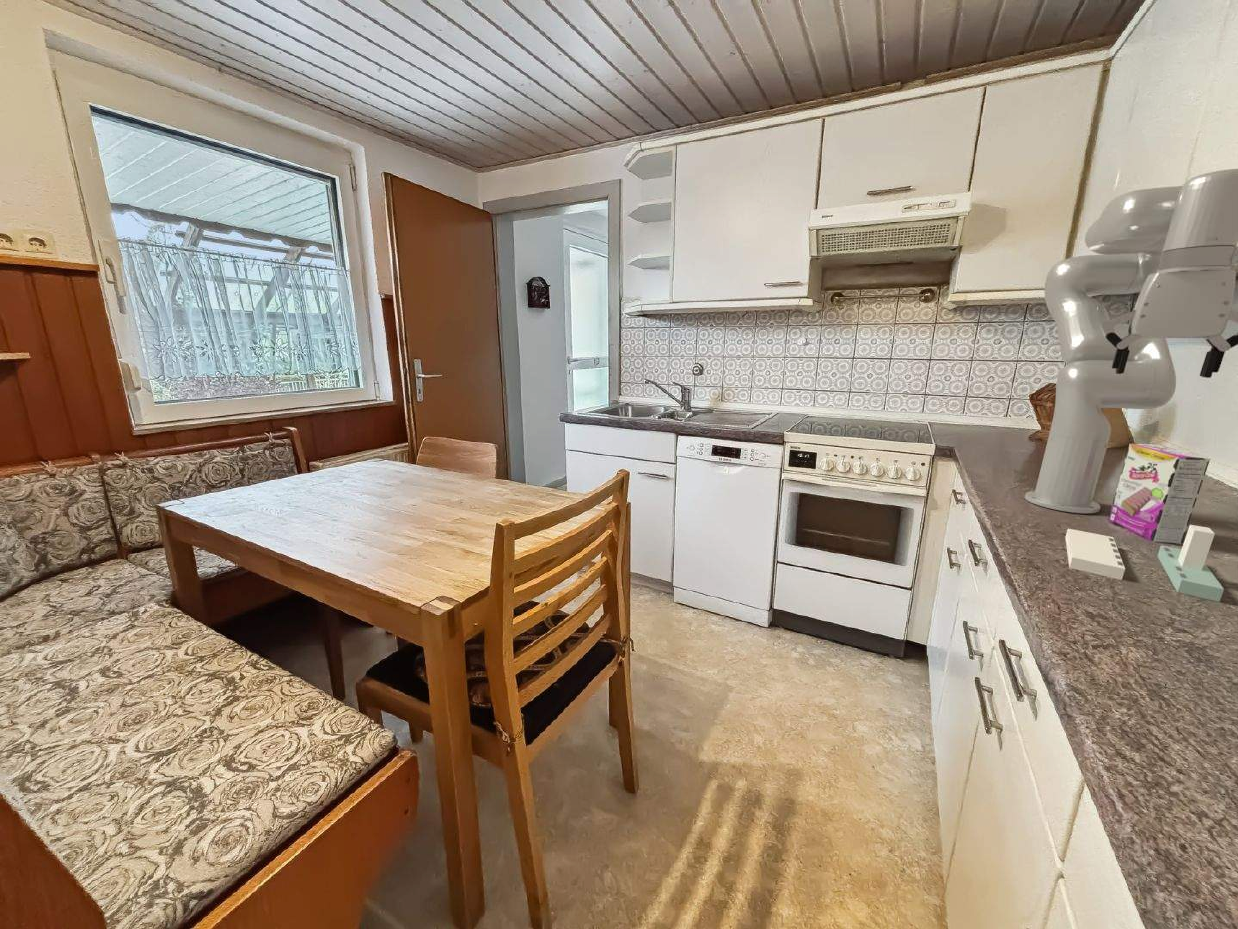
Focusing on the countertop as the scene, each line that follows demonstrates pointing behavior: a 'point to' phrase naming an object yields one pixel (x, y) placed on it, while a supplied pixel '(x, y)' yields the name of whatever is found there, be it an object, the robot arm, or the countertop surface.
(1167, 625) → the countertop surface
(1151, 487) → the candy bar box
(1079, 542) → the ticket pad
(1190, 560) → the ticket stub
